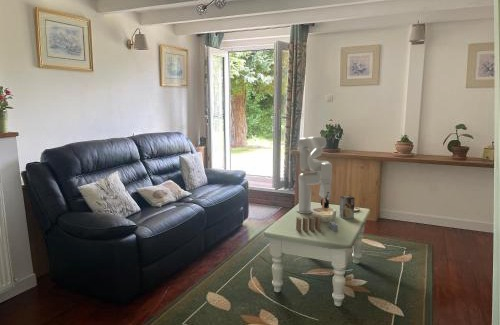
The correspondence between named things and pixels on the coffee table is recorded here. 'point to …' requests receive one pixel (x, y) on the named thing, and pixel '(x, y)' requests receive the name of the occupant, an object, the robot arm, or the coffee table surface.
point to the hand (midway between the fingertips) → (324, 206)
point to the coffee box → (347, 207)
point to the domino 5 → (323, 204)
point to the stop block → (333, 226)
